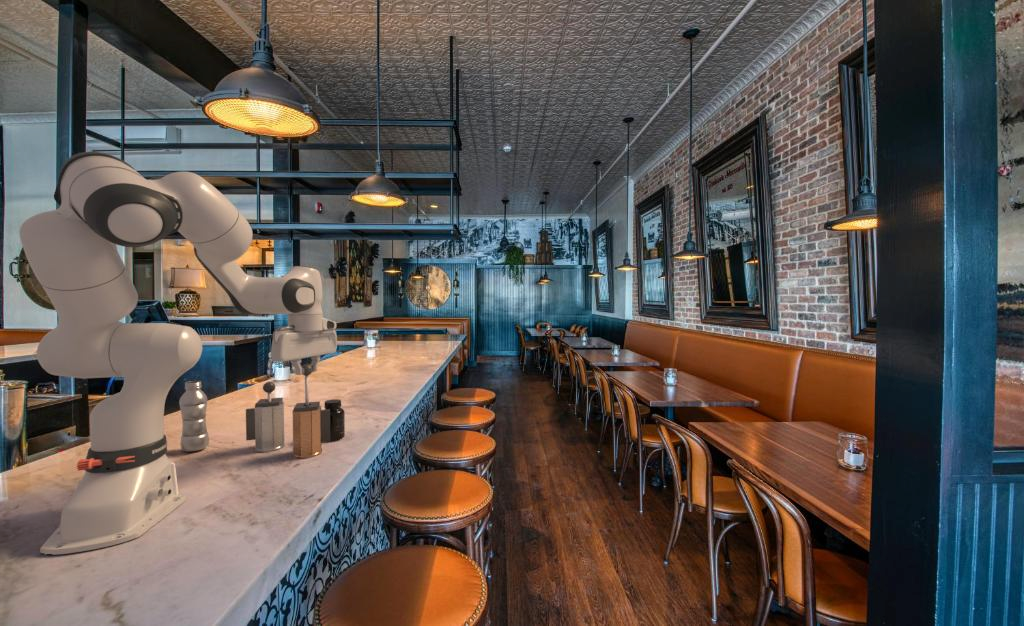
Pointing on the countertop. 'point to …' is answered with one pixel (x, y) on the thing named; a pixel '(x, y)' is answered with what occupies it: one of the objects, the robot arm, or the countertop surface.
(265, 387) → the steel plunger
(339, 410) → the supplement bottle
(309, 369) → the ball knob lever
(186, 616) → the countertop surface
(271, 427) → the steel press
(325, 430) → the copper press
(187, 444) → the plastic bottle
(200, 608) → the countertop surface
